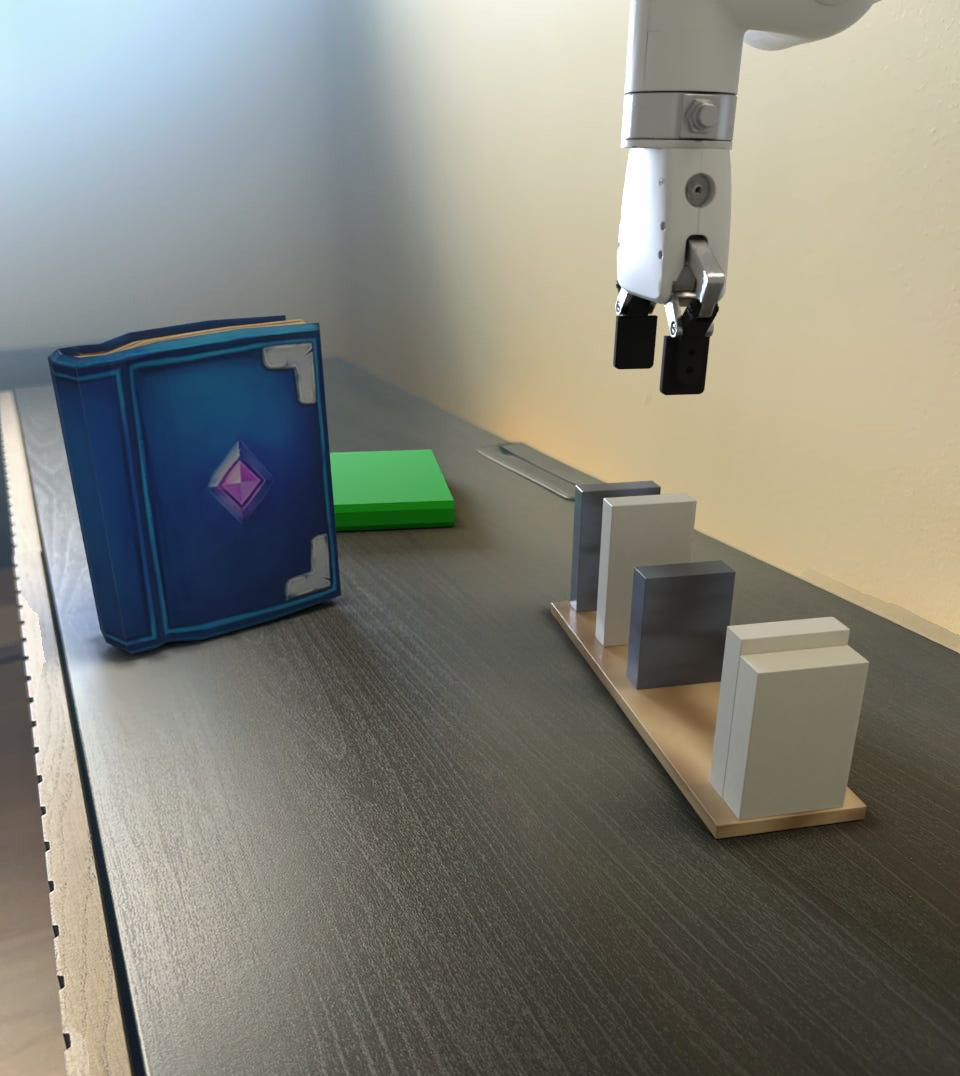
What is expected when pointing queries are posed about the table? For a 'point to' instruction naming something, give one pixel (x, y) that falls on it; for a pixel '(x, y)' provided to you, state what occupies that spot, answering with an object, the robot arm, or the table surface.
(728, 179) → the robot arm
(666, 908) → the table surface
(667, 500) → the white book
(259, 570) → the book
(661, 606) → the book rack
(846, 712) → the white books
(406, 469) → the green flat slab
